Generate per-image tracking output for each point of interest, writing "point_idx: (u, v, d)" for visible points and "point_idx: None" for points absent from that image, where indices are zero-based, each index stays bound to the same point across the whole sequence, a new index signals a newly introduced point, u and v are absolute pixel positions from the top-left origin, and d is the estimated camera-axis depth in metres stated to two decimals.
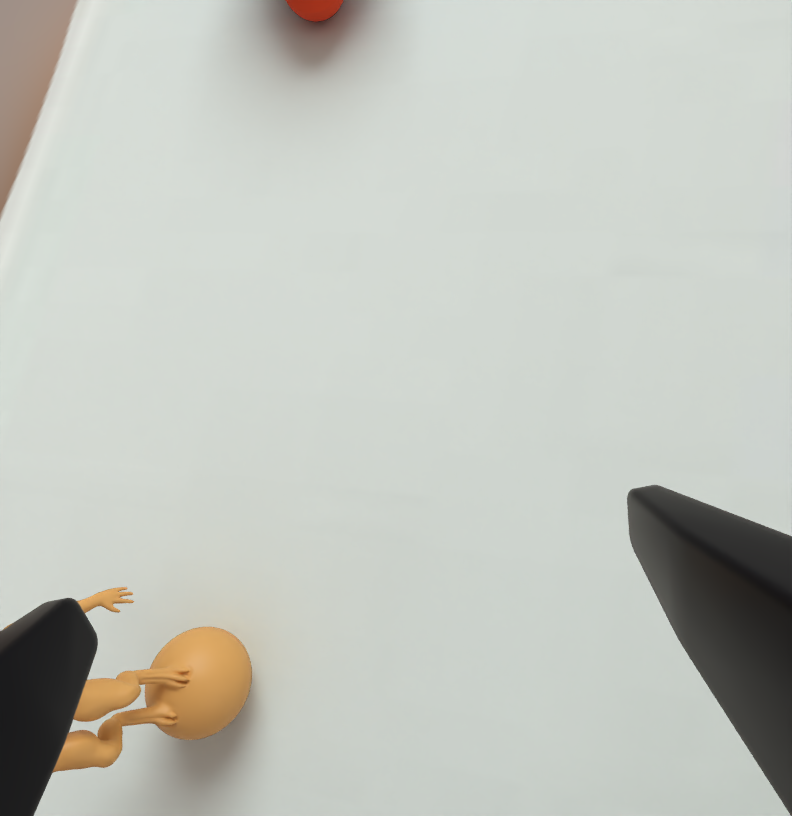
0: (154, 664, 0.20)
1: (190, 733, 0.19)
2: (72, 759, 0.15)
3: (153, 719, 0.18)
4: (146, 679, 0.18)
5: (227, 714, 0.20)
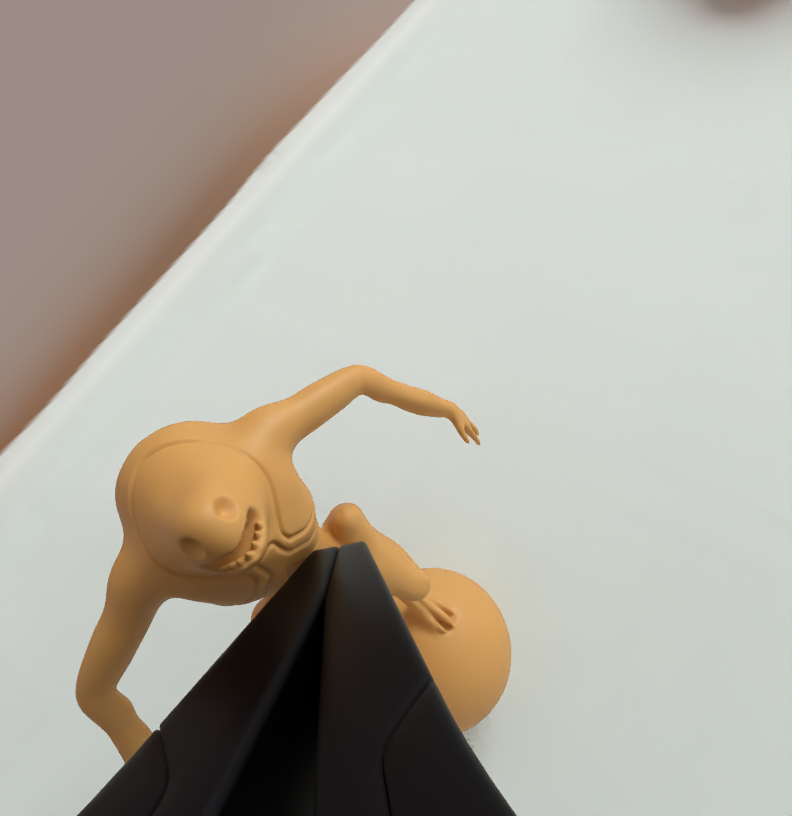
0: None
1: None
2: None
3: None
4: None
5: (479, 711, 0.12)
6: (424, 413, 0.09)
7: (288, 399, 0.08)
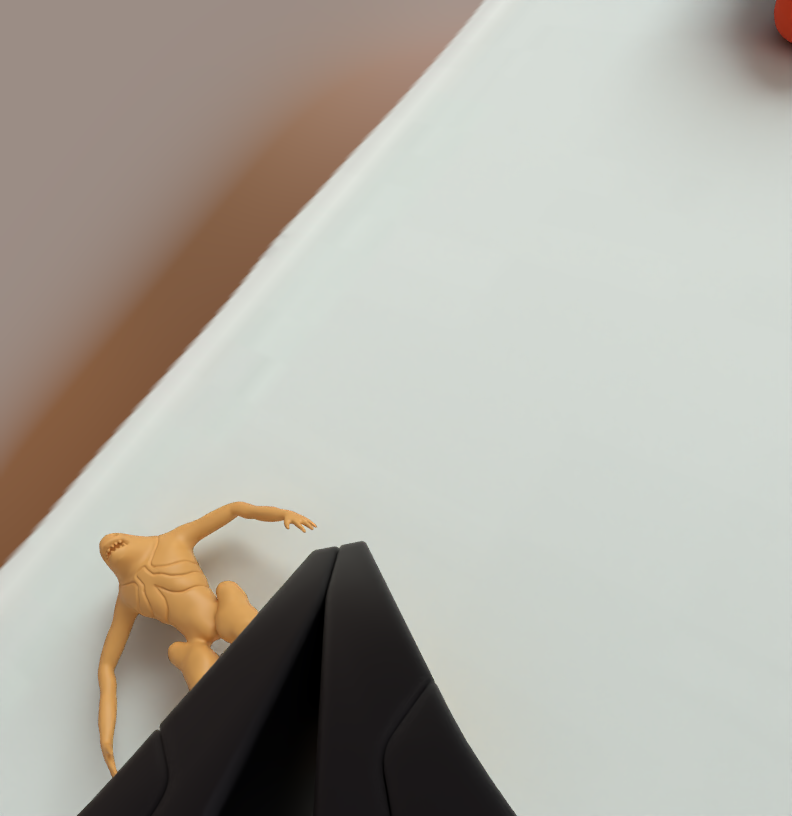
0: None
1: None
2: (187, 658, 0.14)
3: None
4: None
5: None
6: (266, 518, 0.16)
7: None
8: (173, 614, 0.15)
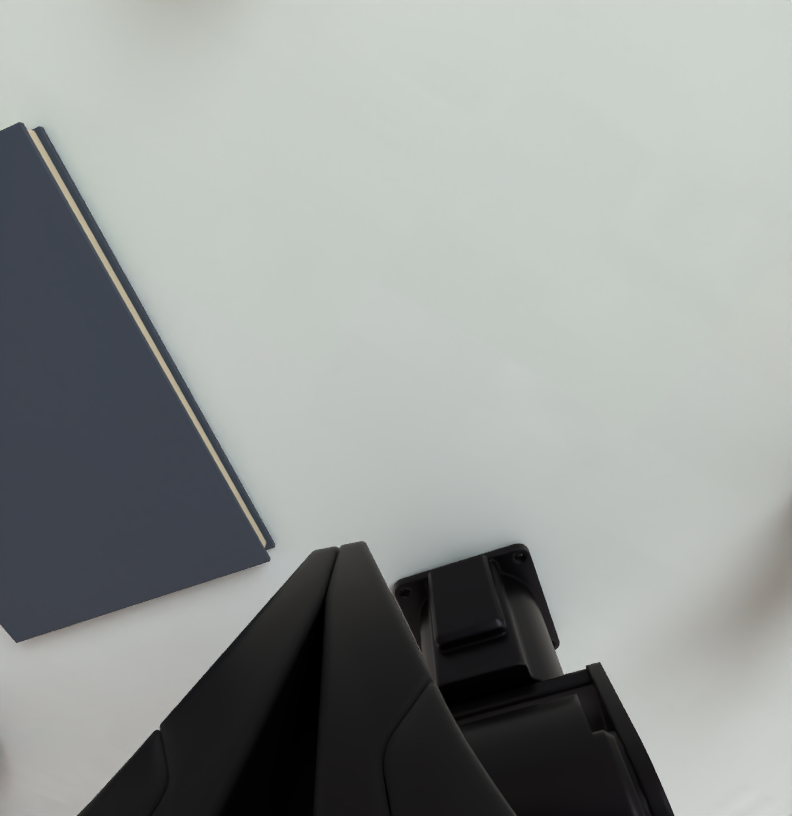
0: None
1: None
2: None
3: None
4: None
5: None
6: None
7: None
8: None
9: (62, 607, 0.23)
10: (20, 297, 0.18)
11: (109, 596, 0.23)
